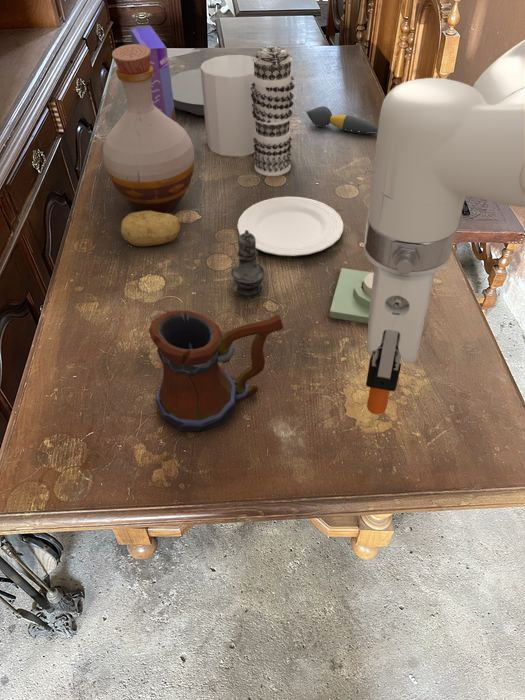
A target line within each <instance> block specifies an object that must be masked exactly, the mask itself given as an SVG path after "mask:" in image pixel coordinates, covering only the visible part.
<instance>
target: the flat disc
mask: <svg viewBox="0 0 525 700" xmlns="http://www.w3.org/2000/svg"><path fill="white" fill-rule="evenodd" d="M170 78H171V86H172V93H173V101H174V108H176V109H177V110H180V111H185V112H188V113H189V112H190V113H191V114H195V115H197V116H205V113H204V102H203V92H202V81H201V70H200V67H199V68H193V69H189V70H185V71H182V72H179V73H177V74H174V75H172V76H170Z"/></svg>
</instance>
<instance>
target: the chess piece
mask: <svg viewBox="0 0 525 700" xmlns="http://www.w3.org/2000/svg"><path fill="white" fill-rule="evenodd" d="M258 256H259V250H257V249H256V240H255V236H254V235H253V234H251V233H249V231H248V230H246V231H245V233H243V234H241V235H239V236H238V250H237V252H236V257H237V258H238V264H236V265H234V267H232V269H231V271H230V275H231V277H232V279H233V281H234V283H235V284H234V286H233V291H234V293H235V294H236V295H237V296H238V297H241V298H244V299H253V298H256V297H259V296H260V295H262V294H263V292H264V289H265V286H264V284H263V280H264V277H265V275H266V269H265V267H264V266H263V265H261V264H260V263H258V262H257V257H258Z"/></svg>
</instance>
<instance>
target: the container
mask: <svg viewBox="0 0 525 700" xmlns="http://www.w3.org/2000/svg"><path fill="white" fill-rule="evenodd" d="M252 58H253V56H250V55H244V54H226V55H220V56H213V57H211V58H209V59H207V60H205V61H204V60H203V62H202V64H201V65H200V67H199V68H200V70H201V81H202V92H203V102H204V113H205V115H204V123H205V134H206V145H207V147H208V148H209V150H210V151H211V152H214V153H216V154H217V155H220V156H227V157H243V156H249V155H252V154H254V152H255V150H254V144H255V143H254V140H253V139H254V138H255V129H256V125H255V120H254V118H253V113H252V111H253V107H252V104H253V100H252V97H251V94H252V90H251V84H252V83H253V82H254V80H253V73H254V61H253V60H252ZM254 89H255V88H254ZM254 96H255V94H254ZM255 106H256V105H255Z"/></svg>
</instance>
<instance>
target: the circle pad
mask: <svg viewBox="0 0 525 700" xmlns="http://www.w3.org/2000/svg"><path fill="white" fill-rule="evenodd" d="M373 275H374V272H372V273H370V274H368V275H367V276H366V277H365V279H364V284H363V291H364V293H365V294H366V295H368V296H370V297H371V291H372V283H373Z"/></svg>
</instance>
